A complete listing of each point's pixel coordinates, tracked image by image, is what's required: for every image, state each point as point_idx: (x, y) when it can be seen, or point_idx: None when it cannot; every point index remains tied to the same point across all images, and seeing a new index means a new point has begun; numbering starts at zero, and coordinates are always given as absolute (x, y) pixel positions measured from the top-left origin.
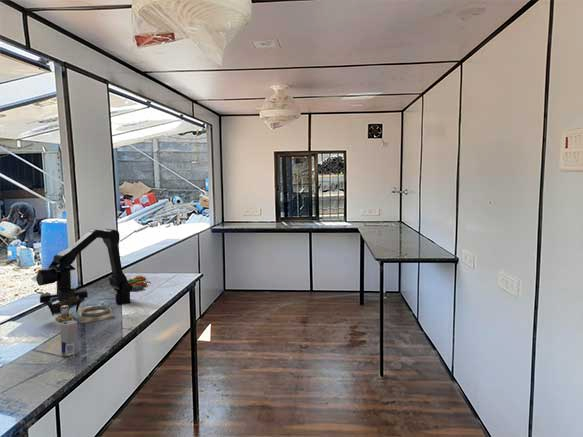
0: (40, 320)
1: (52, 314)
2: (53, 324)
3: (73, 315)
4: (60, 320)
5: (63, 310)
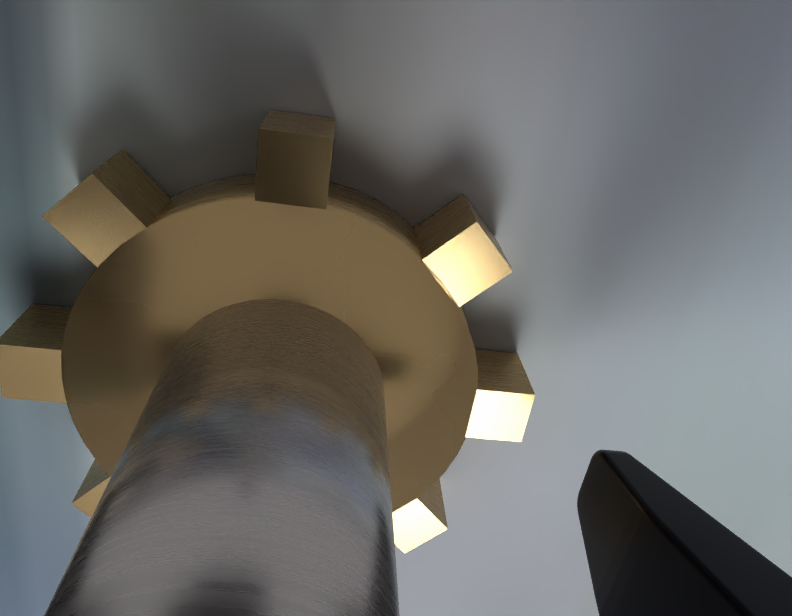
0: (758, 525)
1: (656, 479)
2: (649, 48)
3: (35, 356)
4: (423, 235)
5: (307, 479)
